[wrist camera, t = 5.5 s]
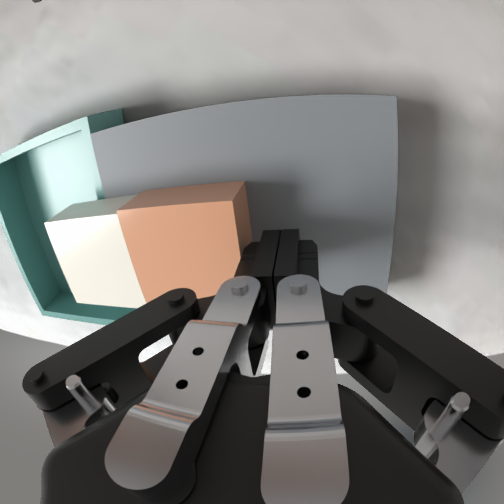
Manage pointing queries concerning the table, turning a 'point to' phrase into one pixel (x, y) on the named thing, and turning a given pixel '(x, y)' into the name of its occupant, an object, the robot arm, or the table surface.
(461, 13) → the table surface
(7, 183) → the box
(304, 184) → the grey flat block
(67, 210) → the cream tile
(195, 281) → the terracotta tile
